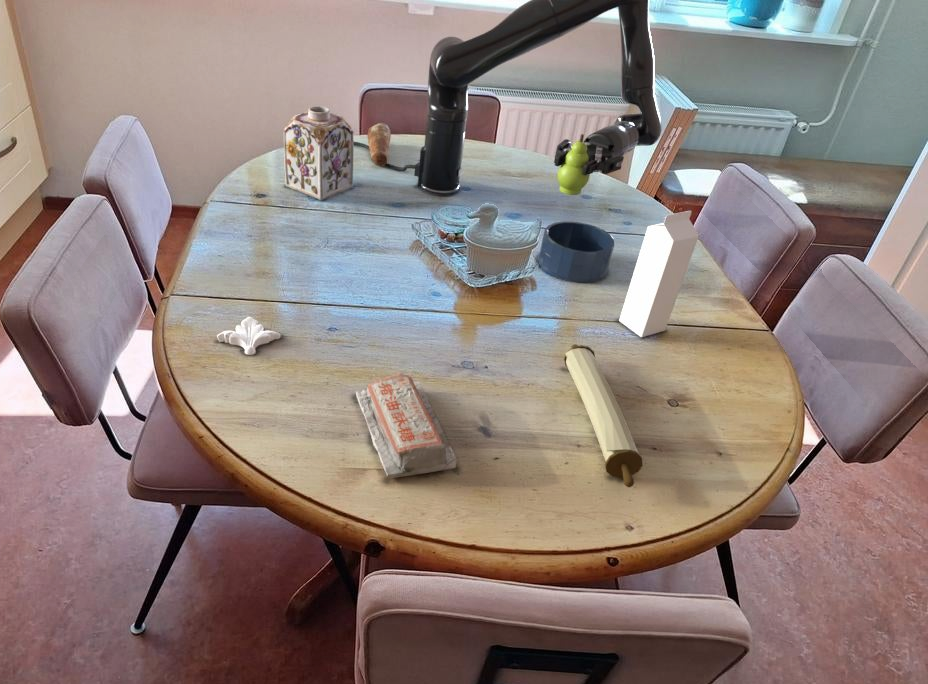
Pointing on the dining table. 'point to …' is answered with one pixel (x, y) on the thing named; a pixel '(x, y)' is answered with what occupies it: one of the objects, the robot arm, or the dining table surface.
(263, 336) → the acanthus leaf ornament
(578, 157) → the pear
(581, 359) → the rolling pin
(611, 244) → the pot
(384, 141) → the bread
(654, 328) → the milk
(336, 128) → the decorative jar
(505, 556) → the dining table surface
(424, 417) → the packaged product
